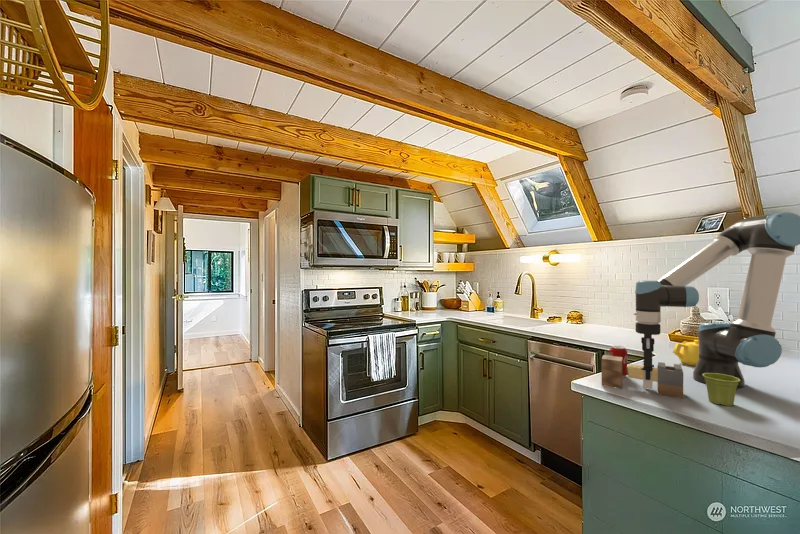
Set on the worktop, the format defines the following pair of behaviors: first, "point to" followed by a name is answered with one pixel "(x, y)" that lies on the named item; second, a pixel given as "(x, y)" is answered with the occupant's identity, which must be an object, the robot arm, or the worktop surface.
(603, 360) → the socket
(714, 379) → the plant pot
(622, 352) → the beverage can
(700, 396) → the worktop surface
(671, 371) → the sleeve
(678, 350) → the teapot
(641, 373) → the rod
